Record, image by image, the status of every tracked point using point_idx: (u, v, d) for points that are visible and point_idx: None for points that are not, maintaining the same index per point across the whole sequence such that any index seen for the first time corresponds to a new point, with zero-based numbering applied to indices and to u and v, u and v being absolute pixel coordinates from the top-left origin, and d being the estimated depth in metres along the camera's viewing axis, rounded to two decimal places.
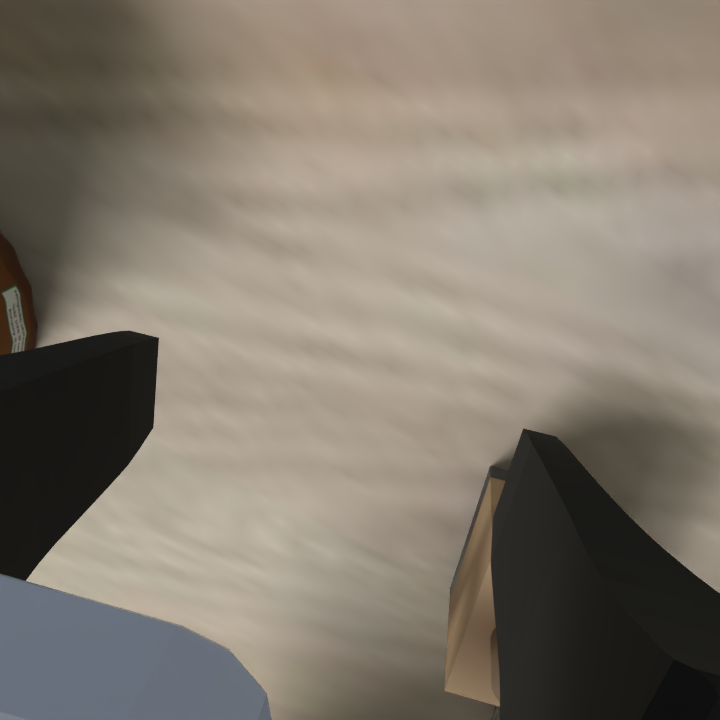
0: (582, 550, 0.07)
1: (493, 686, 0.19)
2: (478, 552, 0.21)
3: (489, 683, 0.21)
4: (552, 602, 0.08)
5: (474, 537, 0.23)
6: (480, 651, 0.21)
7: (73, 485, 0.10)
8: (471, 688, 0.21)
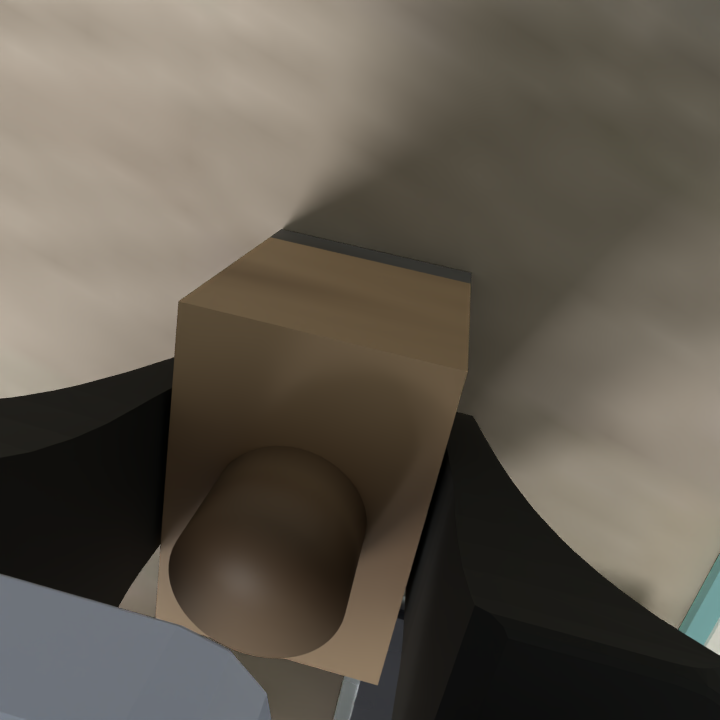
0: (454, 516, 0.08)
1: (175, 590, 0.09)
2: None
3: None
4: (434, 570, 0.08)
5: None
6: None
7: (160, 508, 0.10)
8: None
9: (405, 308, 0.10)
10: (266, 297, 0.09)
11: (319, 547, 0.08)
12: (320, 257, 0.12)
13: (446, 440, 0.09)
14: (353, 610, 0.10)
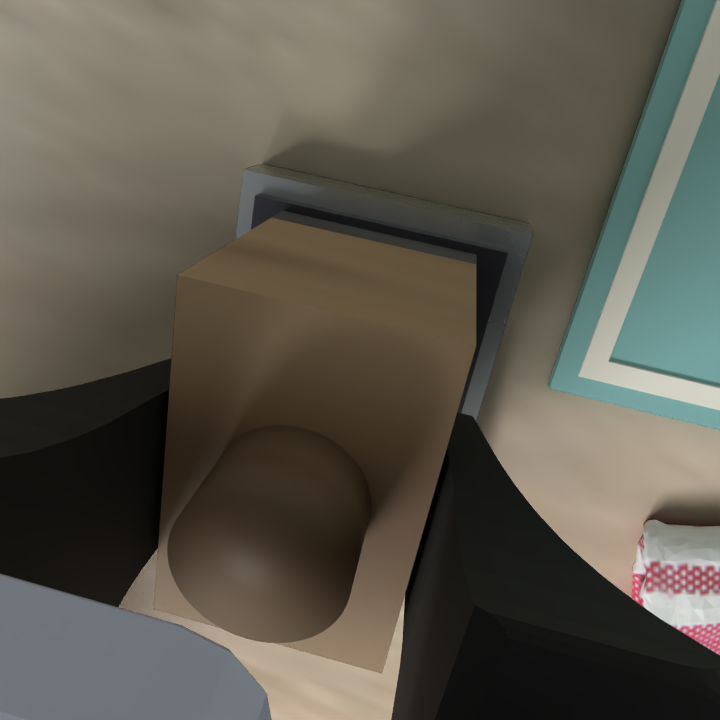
0: (454, 517, 0.08)
1: (175, 573, 0.08)
2: None
3: None
4: (434, 570, 0.08)
5: None
6: None
7: (160, 509, 0.10)
8: None
9: (411, 286, 0.10)
10: (268, 272, 0.09)
11: (322, 525, 0.08)
12: (322, 237, 0.12)
13: (453, 418, 0.09)
14: (357, 596, 0.10)
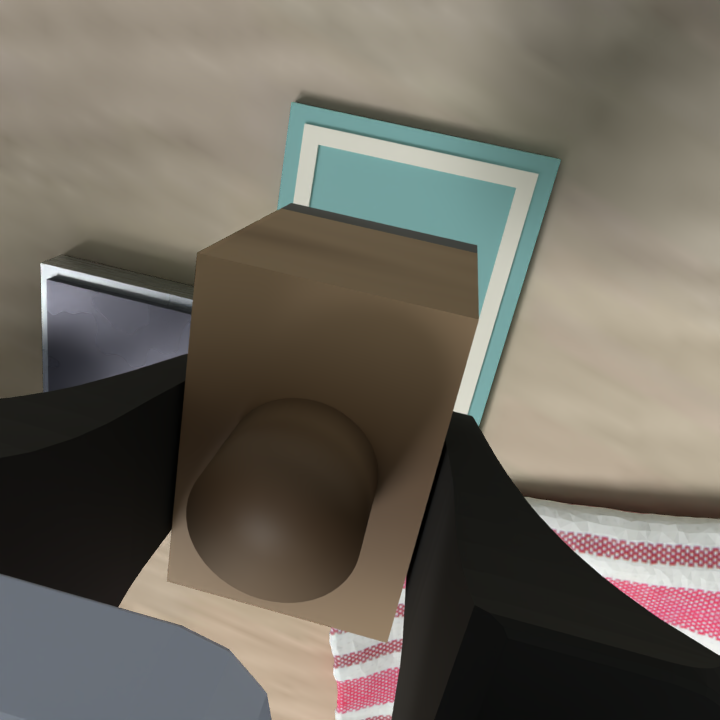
0: (454, 516, 0.08)
1: (192, 534, 0.09)
2: None
3: None
4: (434, 570, 0.08)
5: None
6: None
7: (160, 508, 0.10)
8: (213, 573, 0.11)
9: (415, 269, 0.10)
10: (281, 253, 0.10)
11: (335, 485, 0.08)
12: (330, 226, 0.12)
13: (457, 389, 0.09)
14: (364, 565, 0.10)
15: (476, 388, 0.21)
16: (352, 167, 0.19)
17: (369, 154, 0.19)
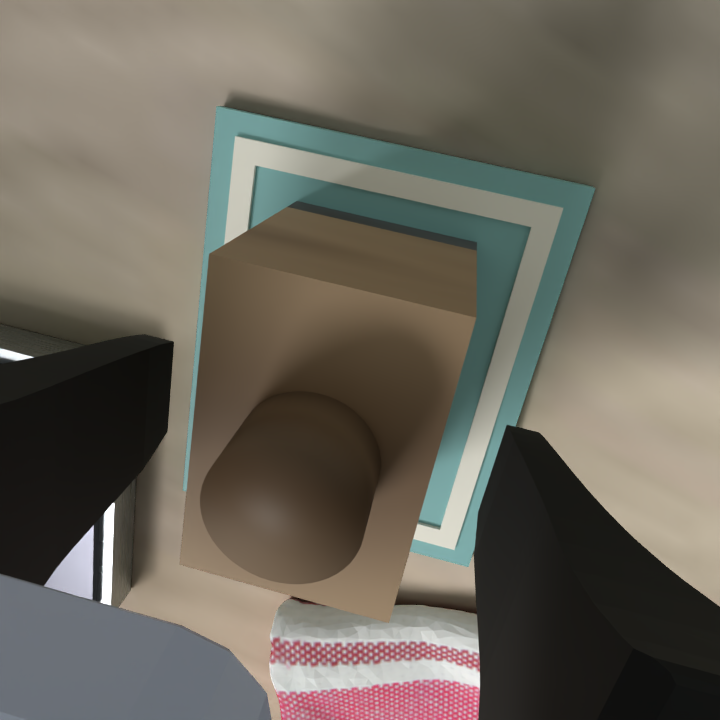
0: (556, 543, 0.07)
1: (206, 520, 0.09)
2: None
3: None
4: (528, 596, 0.08)
5: None
6: None
7: (90, 490, 0.10)
8: (224, 557, 0.12)
9: (416, 268, 0.11)
10: (288, 253, 0.10)
11: (340, 474, 0.09)
12: (335, 224, 0.13)
13: (456, 383, 0.10)
14: (367, 549, 0.11)
15: (476, 488, 0.16)
16: (303, 196, 0.14)
17: (326, 179, 0.14)
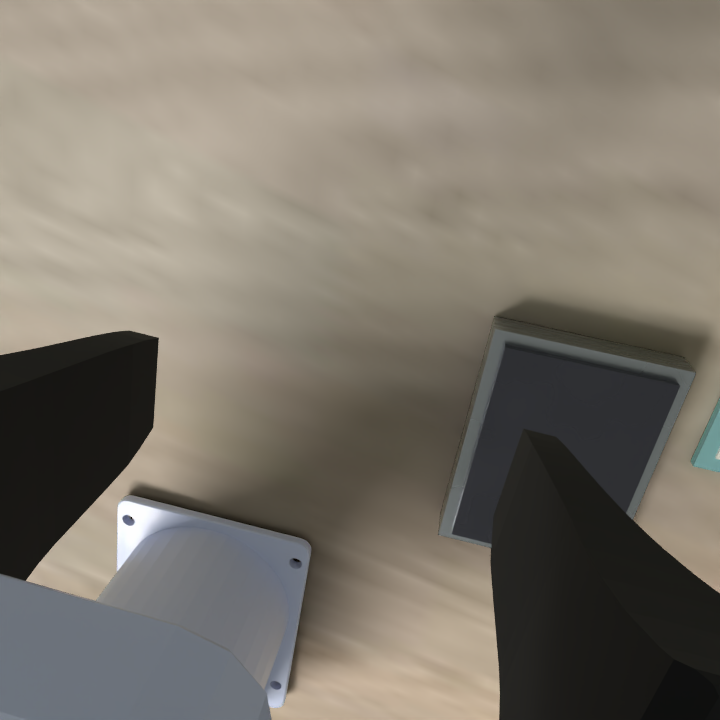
0: (582, 550, 0.07)
1: None
2: None
3: None
4: (552, 602, 0.08)
5: None
6: None
7: (73, 485, 0.10)
8: None
9: None
10: None
11: None
12: None
13: None
14: None
15: None
16: None
17: None
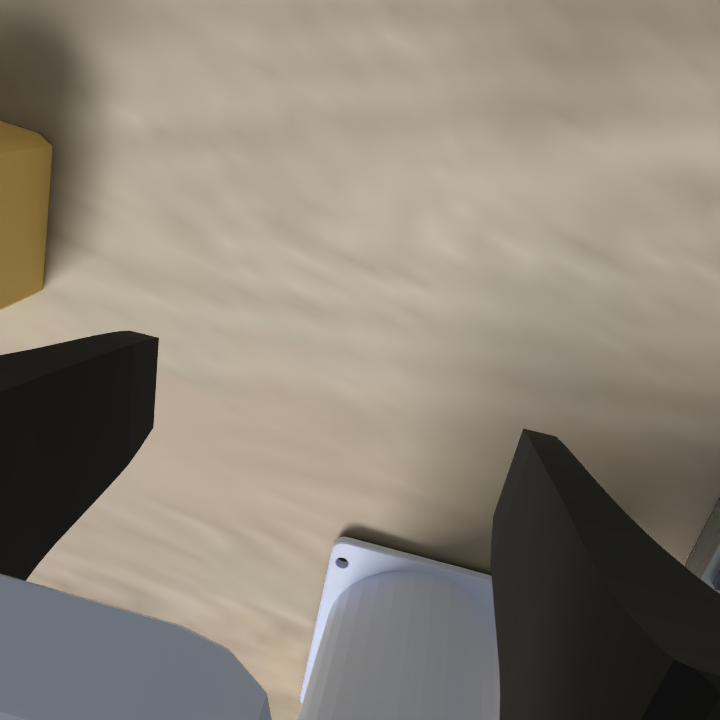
0: (582, 550, 0.07)
1: None
2: None
3: None
4: (552, 602, 0.08)
5: None
6: None
7: (73, 485, 0.10)
8: None
9: None
10: None
11: None
12: None
13: None
14: None
15: None
16: None
17: None
